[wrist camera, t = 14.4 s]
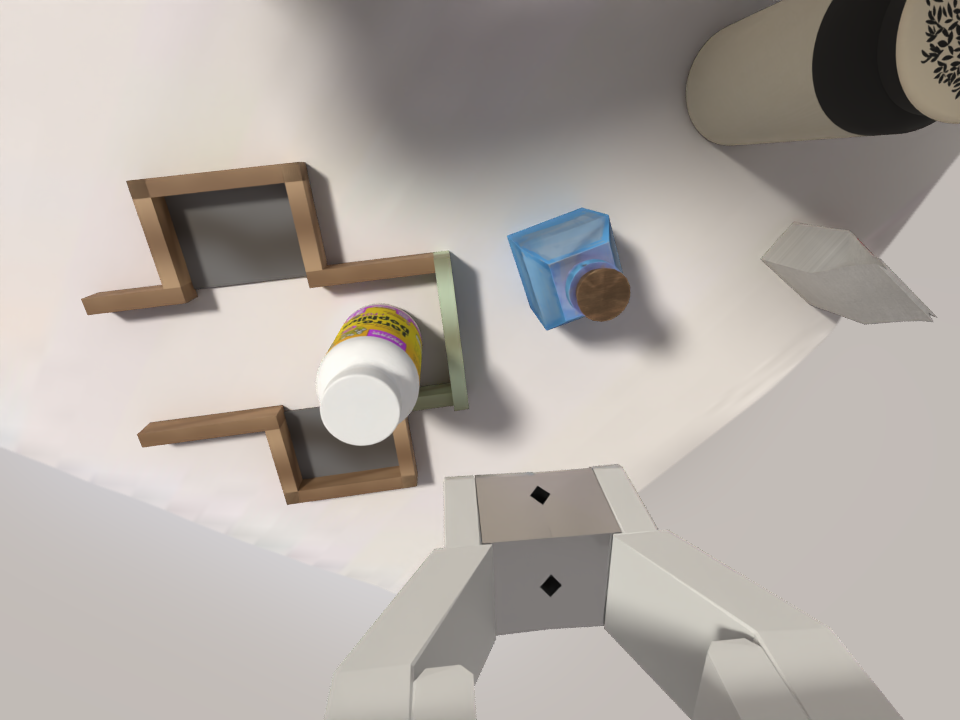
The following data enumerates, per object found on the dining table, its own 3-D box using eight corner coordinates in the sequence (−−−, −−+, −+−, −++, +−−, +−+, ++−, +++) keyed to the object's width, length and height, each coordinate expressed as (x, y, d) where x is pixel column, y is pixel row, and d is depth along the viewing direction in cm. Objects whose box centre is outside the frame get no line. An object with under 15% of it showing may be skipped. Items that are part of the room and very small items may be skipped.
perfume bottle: (530, 307, 41) (567, 360, 30) (506, 236, 39) (537, 263, 28) (601, 281, 41) (665, 324, 30) (581, 207, 39) (643, 224, 27)
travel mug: (728, 168, 38) (957, 170, 22) (661, 93, 36) (860, 30, 19) (809, 80, 37) (1126, 7, 20) (744, -6, 34) (1042, -169, 18)
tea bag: (809, 304, 43) (913, 341, 34) (760, 259, 41) (855, 285, 32) (842, 270, 42) (957, 299, 33) (793, 222, 41) (900, 238, 31)
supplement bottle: (425, 305, 40) (423, 363, 28) (419, 380, 42) (415, 463, 31) (340, 297, 39) (301, 354, 27) (339, 374, 42) (302, 457, 30)
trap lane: (57, 189, 35) (24, 191, 32) (435, 148, 36) (436, 146, 33) (183, 506, 45) (167, 528, 42) (475, 465, 46) (478, 484, 43)
